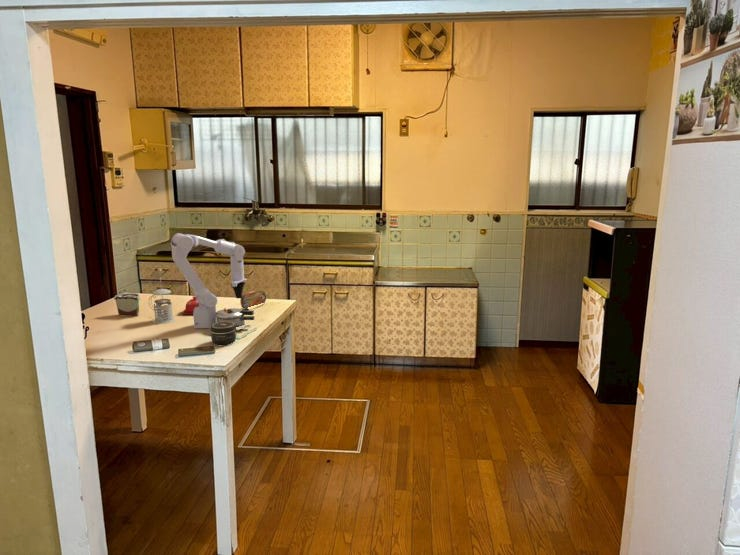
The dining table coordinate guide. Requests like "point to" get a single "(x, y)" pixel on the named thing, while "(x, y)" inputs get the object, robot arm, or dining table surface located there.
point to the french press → (162, 307)
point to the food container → (127, 304)
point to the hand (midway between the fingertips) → (239, 298)
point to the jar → (223, 333)
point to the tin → (252, 299)
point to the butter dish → (191, 306)
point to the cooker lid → (232, 313)
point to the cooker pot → (237, 320)
